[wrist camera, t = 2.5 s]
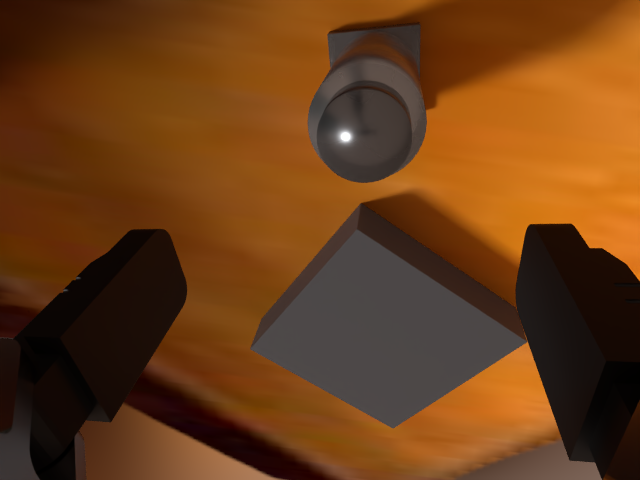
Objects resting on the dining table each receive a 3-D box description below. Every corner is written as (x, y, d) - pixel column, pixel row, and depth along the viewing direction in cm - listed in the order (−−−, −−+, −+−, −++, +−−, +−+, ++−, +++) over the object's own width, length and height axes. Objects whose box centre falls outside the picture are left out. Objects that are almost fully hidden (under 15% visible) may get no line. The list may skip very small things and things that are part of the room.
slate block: (361, 199, 30) (357, 229, 27) (514, 303, 33) (527, 341, 30) (262, 315, 38) (250, 348, 35) (393, 391, 41) (393, 428, 38)
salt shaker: (419, 22, 23) (434, 63, 14) (418, 112, 26) (429, 196, 17) (329, 31, 24) (289, 75, 15) (337, 118, 27) (307, 200, 18)
